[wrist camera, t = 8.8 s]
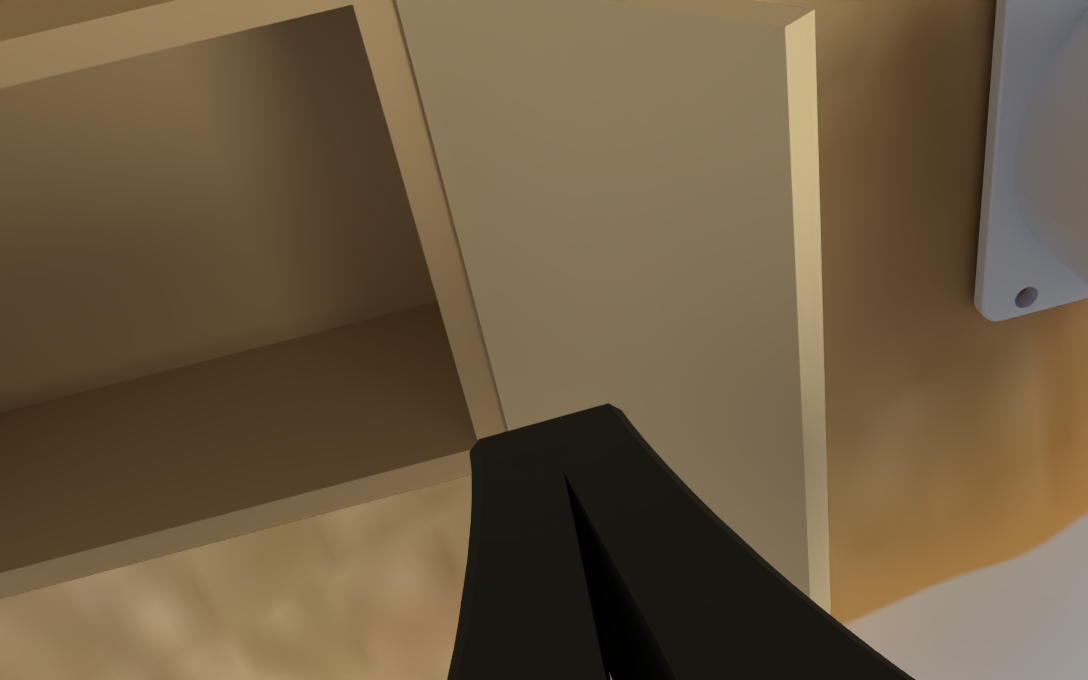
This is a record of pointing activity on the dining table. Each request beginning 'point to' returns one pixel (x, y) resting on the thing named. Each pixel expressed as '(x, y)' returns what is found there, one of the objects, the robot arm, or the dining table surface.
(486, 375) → the carton
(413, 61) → the flap
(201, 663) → the dining table surface
